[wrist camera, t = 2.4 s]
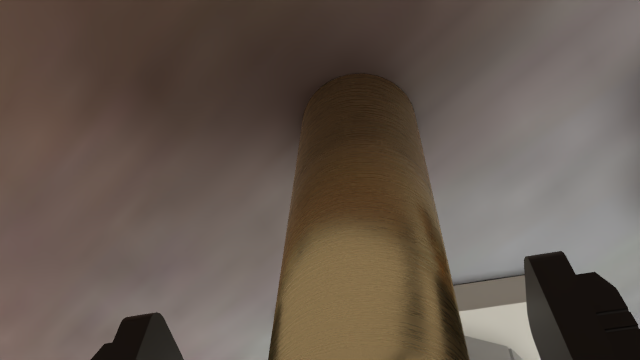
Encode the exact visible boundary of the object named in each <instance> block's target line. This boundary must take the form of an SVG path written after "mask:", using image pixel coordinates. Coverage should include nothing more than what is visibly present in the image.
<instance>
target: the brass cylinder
mask: <svg viewBox="0 0 640 360" xmlns="http://www.w3.org/2000/svg"><path fill="white" fill-rule="evenodd" d="M268 360H470V359H469V355H468V350H467V346H466V341H465V337H464V332H463V328H462V323H461V319H460V314H459V310H458V305H457V301H456V296H455V292H454V287H453V283H452V278H451V274H450V269H449V265H448V260H447V256H446V251H445V247H444V242H443V238H442V233H441V229H440V225H439V220H438V216H437V211H436V207H435V202H434V198H433V193H432V189H431V184H430V180H429V175H428V171H427V166H426V162H425V157H424V153H423V148H422V144H421V139H420V135H419V130H418V126H417V121H416V117H415V113H414V109H413V107H412V104H411V102H410V101H409V99H408V97H407V96H406V95H405V93H404V92H403V91H402V90H401V89H400V88H399V87H397V86H396V85H395V84H393V83H392V82H390V81H388V80H386V79H384V78H381V77H379V76H375V75H370V74H351V75H345V76H342V77H339V78H336V79H334V80H332V81H330V82H328V83H326V84H325V85H324V86H322V87H321V88H320V89H319V90H318V91H317V92H316V93H315V94H314V95H313V96H312V98H311V99H310V101H309V103H308V104H307V106H306V109H305V112H304V116H303V121H302V128H301V135H300V142H299V149H298V156H297V163H296V170H295V177H294V184H293V191H292V198H291V205H290V212H289V219H288V226H287V232H286V239H285V246H284V253H283V260H282V267H281V274H280V281H279V288H278V295H277V302H276V309H275V316H274V323H273V330H272V337H271V344H270V351H269V358H268Z"/></svg>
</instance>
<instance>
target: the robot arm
mask: <svg viewBox="0 0 640 360" xmlns="http://www.w3.org/2000/svg"><path fill="white" fill-rule="evenodd" d="M524 270H525V287H526V304H527V315H528V321H529V326H530V330H531V333H532V337H533V340H534V343H535V345H536V348H537V350H538V353H539V356H540V358H541V360H640V329H639V328H638V324H637V322H636V321H635V319H634V317H633V316H632V314H631V312H629V311H628V307H627V306H626V304H625V302H624V301H623V299H622V297H621V295H620V294H619V292H618V290H617V289H616V288H615V287H614V286H613V285H611V284H610V283H609V282H607V281H606V280H605V279H603V278H602V277H601V276H599V275H598V274H597V273H595V272H591V273H584V274H578V275H575V273H574V271H573V269H572V267H571V265H570V263H569V261H568V259H567V257H566V256H565V254H564V253H563V252H562V251H559V252H552V253H546V254H539V255H533V256H526V257H525V259H524ZM91 360H184V359H183V357H182V355H181V353H180V351H179V349H178V346H177V344H176V342H175V340H174V338H173V336H172V334H171V332H170V330H169V328H168V326H167V324H166V322H165V320H164V318H163V316H162V315H161V314H160V313H150V314H144V315H137V316H131V317H126V318H124V319H123V320H122V322H121V324H120V326H119V328H118V331H117V333H116V336H115V338H114V340H113V343H107V344H104V345H103V346H102V347H101V349H100V350H99V351H98V352H97V353H96V354H95V355H94V357H93V358H92V359H91Z"/></svg>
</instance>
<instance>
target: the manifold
mask: <svg viewBox="0 0 640 360" xmlns="http://www.w3.org/2000/svg"><path fill="white" fill-rule="evenodd" d="M453 287H454V292H455V296H456V301H457V305H458V310H459V314H460V319H461V323H462V328H463V332H464V337H465V341H466V346H467V350H468V355H469V359H470V360H541V358H540V356H539V353H538V350H537V348H536V345H535V343H534V340H533V337H532V333H531V330H530V326H529V321H528V315H527V304H526V287H525V275H522V276H516V277H509V278H502V279H495V280H489V281H482V282H475V283H469V284H462V285H455V286H453Z"/></svg>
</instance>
